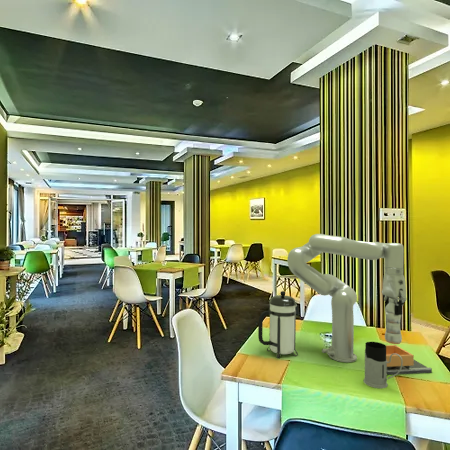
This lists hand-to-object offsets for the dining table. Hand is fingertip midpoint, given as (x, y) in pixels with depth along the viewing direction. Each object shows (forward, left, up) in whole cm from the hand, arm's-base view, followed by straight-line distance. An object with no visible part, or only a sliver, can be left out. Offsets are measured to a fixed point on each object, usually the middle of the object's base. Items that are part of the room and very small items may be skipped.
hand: (393, 312), depth 145 cm
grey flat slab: (+3, 0, -24) cm, 24 cm away
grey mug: (-14, -15, -24) cm, 32 cm away
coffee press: (-45, +20, -24) cm, 55 cm away
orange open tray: (-1, 0, -23) cm, 23 cm away
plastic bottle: (0, 0, -14) cm, 14 cm away
